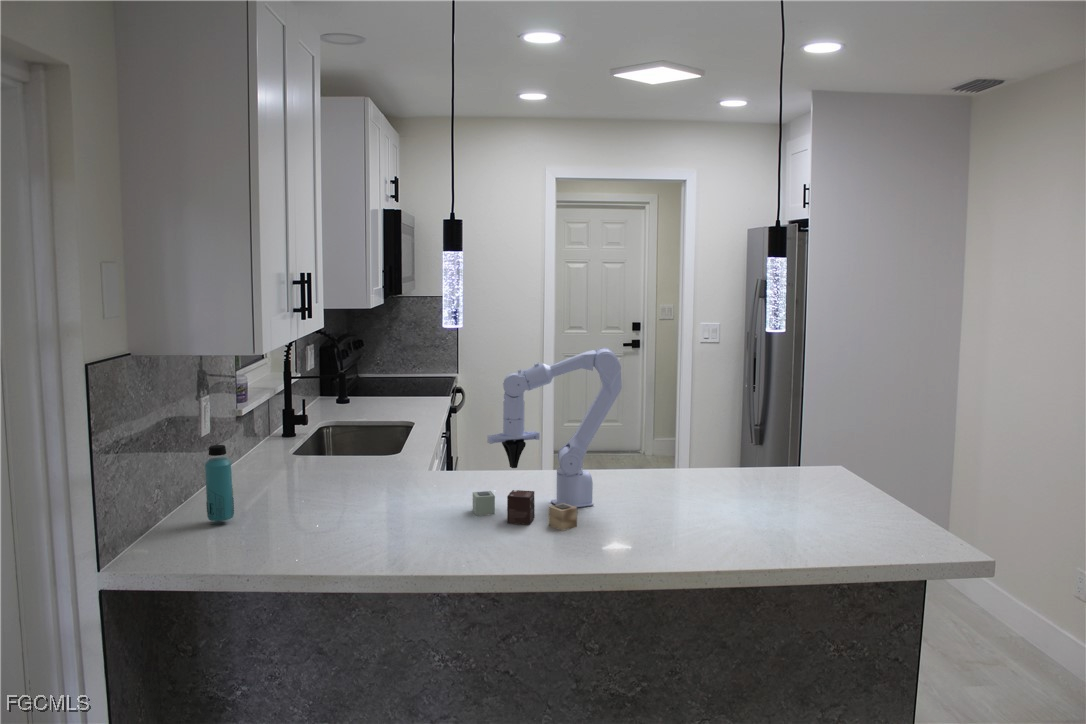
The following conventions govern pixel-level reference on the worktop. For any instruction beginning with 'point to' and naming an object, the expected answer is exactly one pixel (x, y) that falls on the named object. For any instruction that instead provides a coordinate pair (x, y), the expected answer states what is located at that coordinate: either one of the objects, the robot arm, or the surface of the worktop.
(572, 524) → the oak marked block
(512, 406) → the robot arm
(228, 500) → the beverage bottle
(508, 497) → the box
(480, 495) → the sage marked block
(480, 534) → the worktop surface
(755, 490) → the worktop surface
